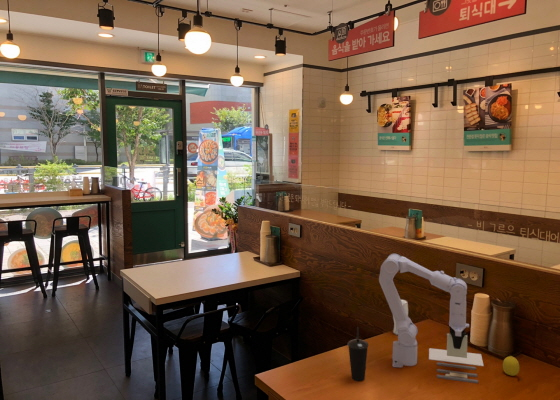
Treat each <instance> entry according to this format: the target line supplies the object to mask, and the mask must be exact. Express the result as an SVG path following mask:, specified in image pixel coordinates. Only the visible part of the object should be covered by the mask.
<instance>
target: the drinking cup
mask: <svg viewBox="0 0 560 400" xmlns="http://www.w3.org/2000/svg"><path fill="white" fill-rule="evenodd" d="M347 347H348V354H349V364H350V365H349V366H350V372H351V373H350V374H351V379H352V380H353V381H355V382H363V381H365V379H366V369H367V360H368V358H367V357H368V348H369V343H368V341H366V340H364V339H362V338H361V339H360V327H359V326H357V327H356V338H354V339H351V340H349V341H348V342H347Z"/></svg>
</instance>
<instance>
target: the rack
mask: <svg viewBox="0 0 560 400" xmlns="http://www.w3.org/2000/svg"><path fill="white" fill-rule="evenodd" d="M436 366H439V367H448V368H456V369H465V370H471V371H477V367H476V366H472V365H471V366H470V365H464V364H462V365H461V364H456V363H448V362H447V363H446V362H440V361H438V362H436ZM450 372H451V373H459V374H467V377H472V378H473V379H471V378H468V379H466V378H458V377H451V376H445V375H441V374H450ZM436 373H441V374H436V379H444V380H449V381H450V380H451V381H458V382H464V383H470V384H471V383H472V384H479V380H478V379H474V378H478V374H477V373H471V372H465V371H464V372H463V371H455V370H449V369H448V370H447V369H441V368H437V369H436Z"/></svg>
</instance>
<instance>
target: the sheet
mask: <svg viewBox="0 0 560 400" xmlns="http://www.w3.org/2000/svg"><path fill="white" fill-rule="evenodd" d="M446 350H447V356H454V357H462V358H467V353H468V334H466V335H465V336H464V338H463V340H462V344H461V348H460V349H455V348H454V346H453V339H452V336H451V334H450V333H446Z"/></svg>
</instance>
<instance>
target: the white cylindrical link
mask: <svg viewBox="0 0 560 400" xmlns="http://www.w3.org/2000/svg"><path fill="white" fill-rule="evenodd" d="M400 299H401V301H402V304H403V306H404V309H405V311H406V314H407V316H408V317H409V304H408V303H409V302H408V300H406V299H402V298H400ZM392 320H393V323H394V325H393V331H392V333H393V334H394V335H396V336H398V332H397V328H396V321H395V319H394V316H393V315H392Z"/></svg>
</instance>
